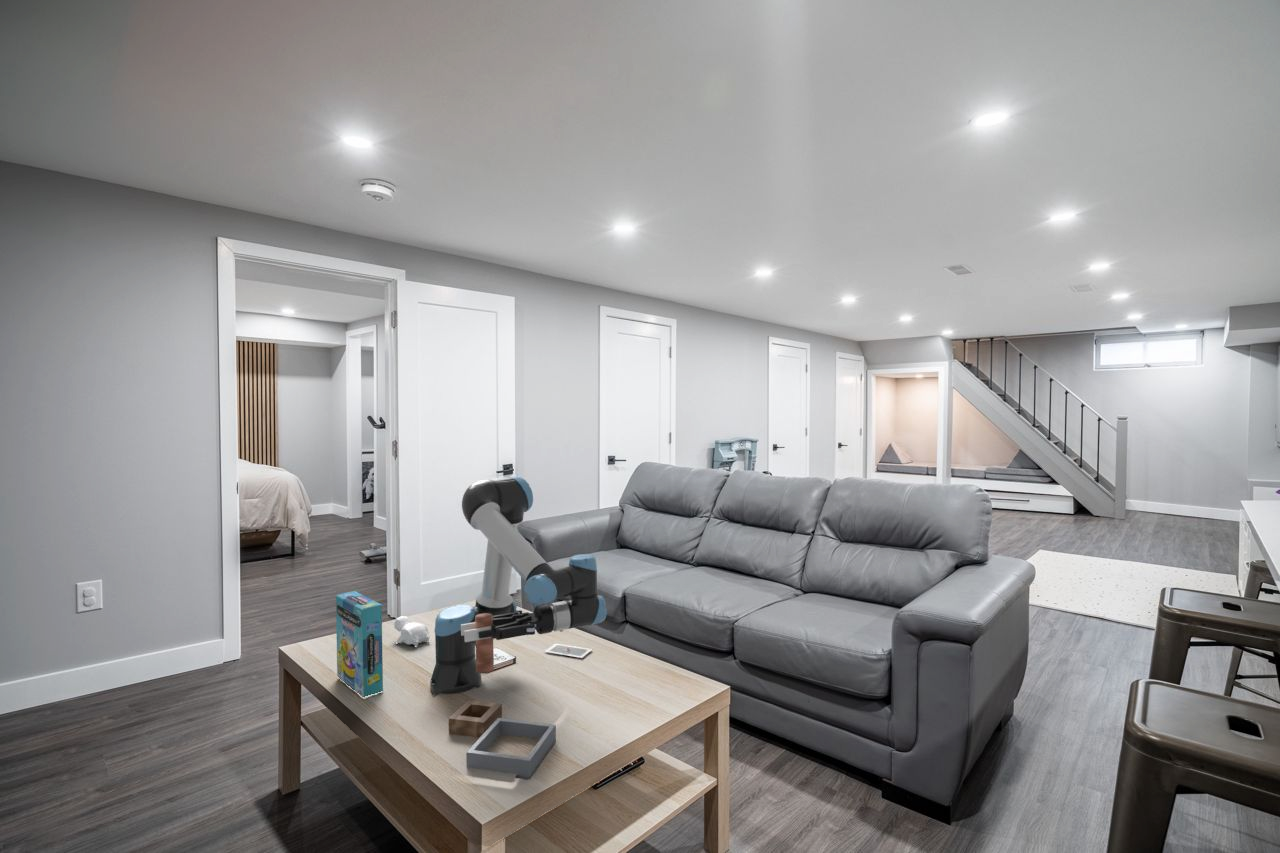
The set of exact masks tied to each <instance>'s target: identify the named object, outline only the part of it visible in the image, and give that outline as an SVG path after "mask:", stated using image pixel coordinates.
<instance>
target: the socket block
mask: <svg viewBox="0 0 1280 853" xmlns="http://www.w3.org/2000/svg"><path fill="white" fill-rule="evenodd" d="M502 711H503V704H502V703H498V702H490V701H489V702H488V701H480V700H470V699H468V700H467V701H465V703H464V704H462V705H461V707H459V708H458V709H457V710H456V711H455V712H454V713H453V714H451V715H450V716H449V717H448V734H449V735H456V736H463V737H470V738H478V739H479V738H480V737H481V736H482V735H483V734H484V733H485V732H486V730H487V729H488V728H489V727H490V726H491V725H492V724H493V723H494V722H495V721H496V720H497V719H498V718H503V712H502Z"/></svg>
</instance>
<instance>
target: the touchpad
mask: <svg viewBox="0 0 1280 853" xmlns="http://www.w3.org/2000/svg"><path fill="white" fill-rule="evenodd" d="M592 650H593V649H592V648H587V647H580V646H574V645H568V644H564V643H563V644H562V643H553V645H551V646H550V647H548V648H547V649H545V650H544V652H545V653H550V654H556V655H561V656H569V657H575V658H578V659H580V658H581V659H583V658H584V657H585V656H586V655H588V654H589V653H591V651H592Z"/></svg>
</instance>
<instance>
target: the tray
mask: <svg viewBox="0 0 1280 853" xmlns="http://www.w3.org/2000/svg"><path fill="white" fill-rule="evenodd" d="M500 735H505V736H506V735H507V736H513V737H514V736H515V737H521V738H530V739H538V741H537V743H536V745H535V746H534V747H533V748H532V750H531V751H530V753H529V754H528V755H527V756H522V755H514V754H506V753H498V752H491V751H487V750H488V749H489V748H490V747H491V745H492V744H493V743H494V742H495V741H496V739H498V738H499V736H500ZM556 742H557V725H556V724H553V723H544V722H537V721H526V720H519V719H510V718H503V717H502V718H498V719H497V720H496V721H495V722H494V723H493V724H492V725H491V726H490V727H489V728H488V729H487V730H486V732H485V733H484V734H483V735H482V736H481V737H480V738H478V739H477V740H476V741H475V742H474V744H472V746H471V747H470V748H469V749H468V750H467V751H466V752H465V753H466V756H465V757H466V768H471V769H473V768H474V769H480V770H486V771H487V770H488V771H494V772H500V773H509V774H516V776H515V779H521V778H522V779H523V780H528V779H530V780H532V778H533V776H534V775H533V774H535V773H536V772H537V770H538V768H539V767H540V766H541V764H542V762H544V760H545V758H546V757H547V756H548V754H549V753H550V751H551V750H552V749H553V747H554V746H555V744H556ZM531 777H532V778H531Z"/></svg>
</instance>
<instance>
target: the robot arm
mask: <svg viewBox="0 0 1280 853" xmlns="http://www.w3.org/2000/svg"><path fill="white" fill-rule="evenodd" d="M533 504H534V494H533V491H532V488H531V486H530V484H529V483H528V481H526V479H524V478H523V477H520V476H510V475H509V476H506V477H498V478H490V479H488V478H487V479H480V480H477V481H475V482H473V483H472V484H470V485H469V486H468V487H467V488H466V489H465V491H464V494H463V495H462V500H461V509H462V514H463V516H464V517H465V519H466V522H467V523H468V524H469V525H470V526H471V528H473V529H474V530H476V531H478V530H479V532H481V533H482V534H483V535H484V537H485V538H486V539H487V546H486V553H485V554H486V555H485V563H484V571H483V578H482V589H481V592H480V593H478V594H477V595H476V597H475V603H474V604H475V606H473V605H470V604H464V603H463V604H458V605H453V606H450V607H447V608H445V609H442V610H441V611H440V612H439V613H438V614H437V615H436V617H435V623H434V629H433V630H434V634H435V636H434V637H435V639H434V643H435V645H434V646H435V665H434V669H433V672H432V675H431V678H430V683H429V689H430V692H431V693H432V694H433V695H436V696H438V695H439V694H440V695H441V694H442V695H445V694H446V695H453V694H460V693H463V692H467V691H470V690H472V689H474V688H475V689H479V687H480V686H481V685H482V673H478V672H476V640H480V639H486V638H491V637H492V638H493V640H496V641H501V640H505V639H511V638H516V637H521V636H531V635H532V636H533V635H535V634H536V633H537V634H538V635H544V634H549V633H552V632H561V633H563V631H564V630H565V631H566V630H569V629H570V630H571V629H574V628H580V627H582V628H583V627H587V626H589V627H590V626H593V625H596V624H597V625H598V624H600V623H602V622H604V621H605V620H606V617H607V613H608V609H607V606H606V605H607V603H606V600H605V598H604V597H603V595H598V569H597V568H598V566H597V560H596V557H595V556H594V555H591V554H583V553H582V554H575V555H572V556H571V557H570V558H569V563H568V566H565V567H562V568H558V569H553V567H552V566H551V565H550V564H549V563H548V562H547V561H546V560H545V559H544V558H543V557H542V555H540V554H539V553H538V552H537V551H536V549H535V548H534V547H533V546H532V545H531V544H530V543H529V542H528V540H527V539H526V538H525V537H524V536H523V535H522V534H521V533H520V532H519V531H518V526H519V525H520V524H521V523H523V522H524V521H523V520H524V514H525V513H526V512H528V511H530V509H531V508H532V507H533ZM513 569H514V570H515V572H516V573H517V574H518V575H519V577H520V578H521V579H523V580H524V582H525V585H524V592H525V595H526V596H527V597H526V599H527V600H528V602H530V603H531V604H532V605H534V606H535V607H534V610H533V612H523V610H521V609H519V610H518V609H517V608H518V606H517V604H516V602H515V601H514V599H513V596H512V595H511V594H510V588H511V578H512V570H513ZM569 596H570V600H562V599H563V598H567V597H569ZM560 599H561V600H562V601H558V600H560ZM555 601H556V602H555ZM483 613H490V614H492V615H493V624H492V629H491V626H488V627H482V628H477V629H475V616H476V615H478V614H483Z"/></svg>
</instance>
